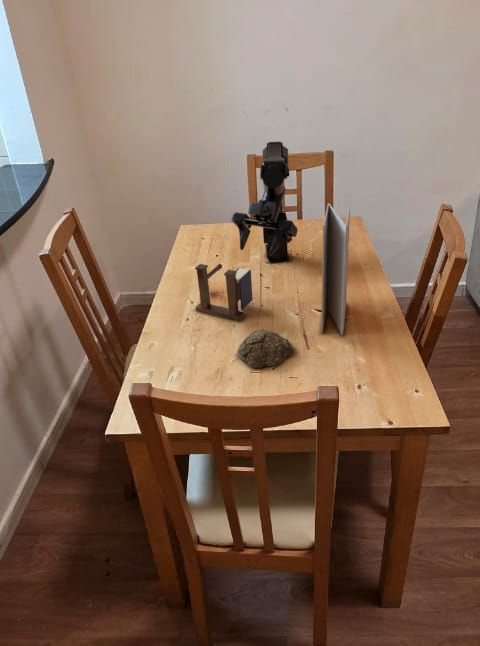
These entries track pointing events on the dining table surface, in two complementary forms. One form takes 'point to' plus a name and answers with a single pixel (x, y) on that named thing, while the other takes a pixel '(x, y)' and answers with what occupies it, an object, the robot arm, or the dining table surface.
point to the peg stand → (231, 285)
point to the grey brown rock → (264, 349)
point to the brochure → (335, 266)
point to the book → (244, 286)
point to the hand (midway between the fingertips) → (255, 252)
